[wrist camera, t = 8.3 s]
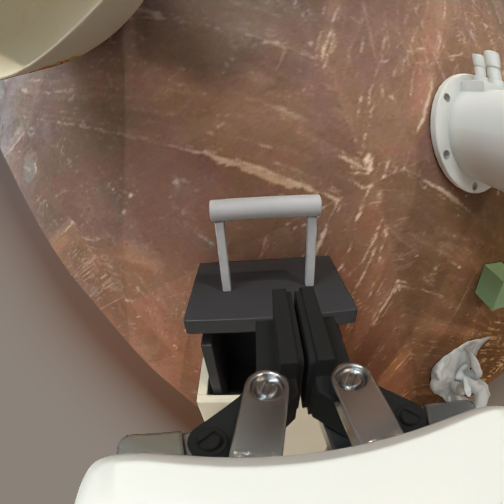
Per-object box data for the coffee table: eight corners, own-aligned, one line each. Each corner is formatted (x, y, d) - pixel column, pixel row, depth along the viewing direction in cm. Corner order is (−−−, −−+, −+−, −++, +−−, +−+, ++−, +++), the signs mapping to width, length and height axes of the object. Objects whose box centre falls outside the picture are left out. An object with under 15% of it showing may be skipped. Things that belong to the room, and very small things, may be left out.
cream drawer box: (207, 327, 29) (196, 402, 20) (325, 320, 29) (348, 391, 20) (224, 401, 35) (221, 460, 27) (313, 395, 35) (324, 452, 26)
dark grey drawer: (189, 187, 21) (161, 221, 14) (332, 180, 21) (372, 210, 14) (218, 365, 30) (214, 421, 23) (317, 358, 30) (330, 413, 23)
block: (484, 264, 26) (503, 281, 22) (501, 261, 26) (519, 277, 22) (474, 292, 28) (491, 311, 24) (492, 288, 28) (508, 305, 24)
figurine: (477, 372, 38) (512, 434, 22) (428, 404, 41) (457, 473, 25) (484, 322, 31) (539, 400, 15) (423, 365, 34) (467, 457, 18)
